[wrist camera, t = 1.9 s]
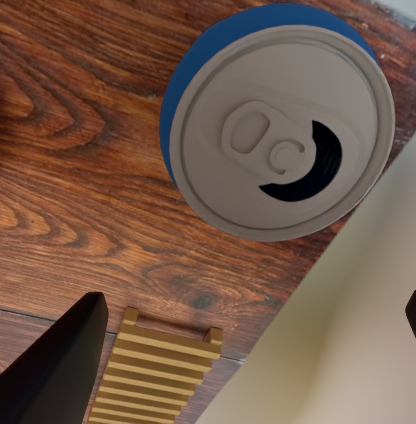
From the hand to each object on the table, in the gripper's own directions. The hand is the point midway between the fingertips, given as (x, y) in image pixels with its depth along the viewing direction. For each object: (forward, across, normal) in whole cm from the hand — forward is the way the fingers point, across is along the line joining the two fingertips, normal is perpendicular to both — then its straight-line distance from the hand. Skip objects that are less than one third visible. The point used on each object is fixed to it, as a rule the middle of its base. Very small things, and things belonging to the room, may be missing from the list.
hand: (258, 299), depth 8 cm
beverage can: (+13, 0, -4) cm, 14 cm away
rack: (+13, +9, +29) cm, 33 cm away
